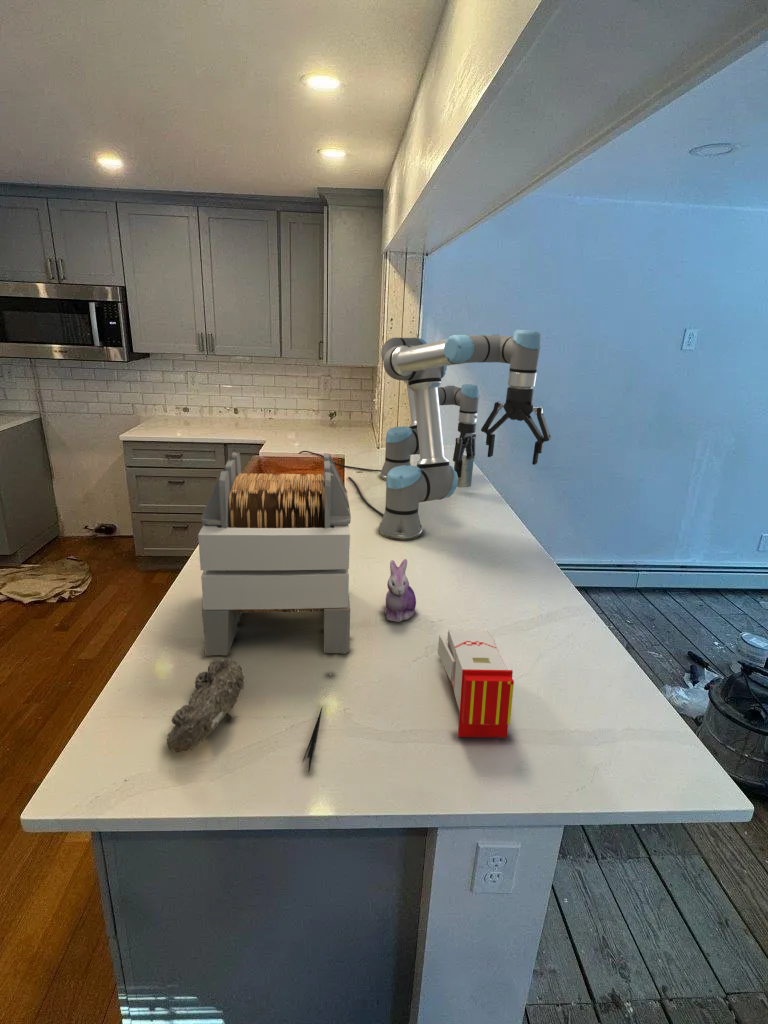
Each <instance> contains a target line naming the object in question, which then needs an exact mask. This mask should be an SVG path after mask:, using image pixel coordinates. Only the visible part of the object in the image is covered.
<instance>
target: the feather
mask: <svg viewBox="0 0 768 1024" xmlns="http://www.w3.org/2000/svg"><path fill="white" fill-rule="evenodd" d="M329 675H330V676H331V675H332V674H331V673H330V674H329ZM322 710H323V707H321V708H320V710H319V713H318V716H317V719H316V723H315V725H314V728H313V731H312V733H311V737H310V739H309V742H308V745H307V748H306V751H305V754H304V757H303V760H302V763H301V767H302V765H303V763H304V761H305V758H308V759H309V760H308V762H307V763H308V764H307V766H308V771H310V770H311V766H312V765H311V764H312V760H313V757H315V756H314V755H315V751H316V749H315V746H317V739H318V733H319V729H320V722H321V717H322V712H323V711H322ZM313 754H314V755H313ZM306 755H307V757H306Z"/></svg>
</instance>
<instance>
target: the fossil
mask: <svg viewBox="0 0 768 1024" xmlns="http://www.w3.org/2000/svg"><path fill="white" fill-rule="evenodd" d="M243 670H244V669H243V667H242V665H240V664H237V662H236V661H235V660H234V659H232V658H231V659H227V658H226V659H224V660H223V661H222V660H217V659H212V660H211V661H210V663H209V665H208V666H207V671H201V672H199V673H198V674H197V675H196V676H195V680H194V684H195V685H194V687H195V689H194V690H193V693H192V694H191V697H190V698H189V700H188V704H184V705H182V706H181V707H180V709H177V710H176V711H175V713H174V715H173V716H172V718H171V723H172V724H173V727H172V730H171V731H170V732H168V734H167V738H166V741H167V742H166V745H167V749H168V750H169V751H173V752H174V753H176V754H178V753H182V752H188V751H189V752H192V751H193V750H195V748H196V747H197V746H199V744H200V743H201V742H203V741H204V740H205V739H206V738H207V737H208V736H209V735H210V734H211V733H212V732H214V730H215V729H217V727H218V726H219V724H220V722H221V721H222V720H223V719H224V718H225V716H226V717H227V719H229V720H233V717H232V715H230V714H229V710H230V709H231V708H234V706H235V704H236V703H237V702H238V699H239V697H240V695H241V693H242V691H243V690H245V689H244V688H245V675H244V671H243Z"/></svg>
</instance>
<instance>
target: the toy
mask: <svg viewBox="0 0 768 1024" xmlns="http://www.w3.org/2000/svg"><path fill="white" fill-rule="evenodd" d="M446 640H447V643H446V641H445V639H444V636H443V635H442V634H439V637H438V646H437V656H438V657H439V659H440V661H441V663H442V666H443V668H444V670H445V672H446V674H447V677H448V679H449V681H450V684H451V687H452V690H453V693H454V697H455V701H456V705H457V708H458V711H459V714H458V715H459V716H458V730H457V731H458V732H457V737H458V738H508V731H509V726H510V725H511V717H512V707H513V697H514V696H513V695H514V684H515V680H514V679H513V673H514V671H513V670H512V669H508V667H507V665H506V662H505V661H504V659H503V658H502V655H501V653H500V651H499V649H498V647H497V643H496V639H495V637H494V635H493V634H491V632H490V631H489V629H467V628H466V629H465V628H463V629H461V628H460V629H459V628H448V630H447V639H446Z"/></svg>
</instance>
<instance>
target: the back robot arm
mask: <svg viewBox="0 0 768 1024" xmlns="http://www.w3.org/2000/svg"><path fill="white" fill-rule="evenodd" d="M423 344H428V343H427V341H426V340H424V339H423V338H420V337H391V338H389V339H387V340H386V341H385V342H384V344H383V345H382V347H381V351H380V356H381V360H382V361H383V360H384V356H385V354H386V353H387V352H388V350H390V349H391V348H393V347H396V346H419V345H423ZM403 382H404V383H405V384H406V391H407V398H408V399H407V400H408V405H409V414H410V421H411V422H410V425H409V426H394V427H391V428H389V429H388V430H387V431H386V434H385V451H384V452H385V453H384V455H385V457H384V462H383V465H382V468H381V469H372V468H371V469H370V468H363V467H357V466H349V465H344V464H342V463H341V464H340V463H338V462H335V461H333V462H334V464H335V466H339V467H342V468H347V469H354V470H359V471H368V472H378V473H380V479H382V480H383V481H386V480H387V474H388V472H389V471H390V470H391V469H392V468H395V467H398V466H403V465H406V466H408V465H412V463H411V456H413V455H420V450H419V440H418V431H417V421H416V411H415V401H414V392H413V390H412V389H410V388H409V385H408V380H407V381H403ZM438 397H439V406H458V407H459V410H458V419H457V420H458V423H457V432H459V433H460V434H459V437H455V444H454V450H453V456H452V462H453V463H454V462H456V463H455V471H456V472H457V476H458V477H459V478H461V470H462V462H461V460H462V457H463V455H464V453H465V455H467V456H471V457H473V458H474V459H475V458H476V438H477V434H476V431H477V420H478V417H479V416H478V411H479V403H480V386H479V385H477V384H473V383H472V384H471V383H464V384H462V385H461V387H459V386H455V385H446V386H439V387H438ZM302 453H306V454H311V455H315V456H319V457H321V458H323V459H324V454H320V453H317V452H312V451H310V450H309V451H308V450H301V451H299V452H298V453H297V454H298V455H300V454H302Z"/></svg>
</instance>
